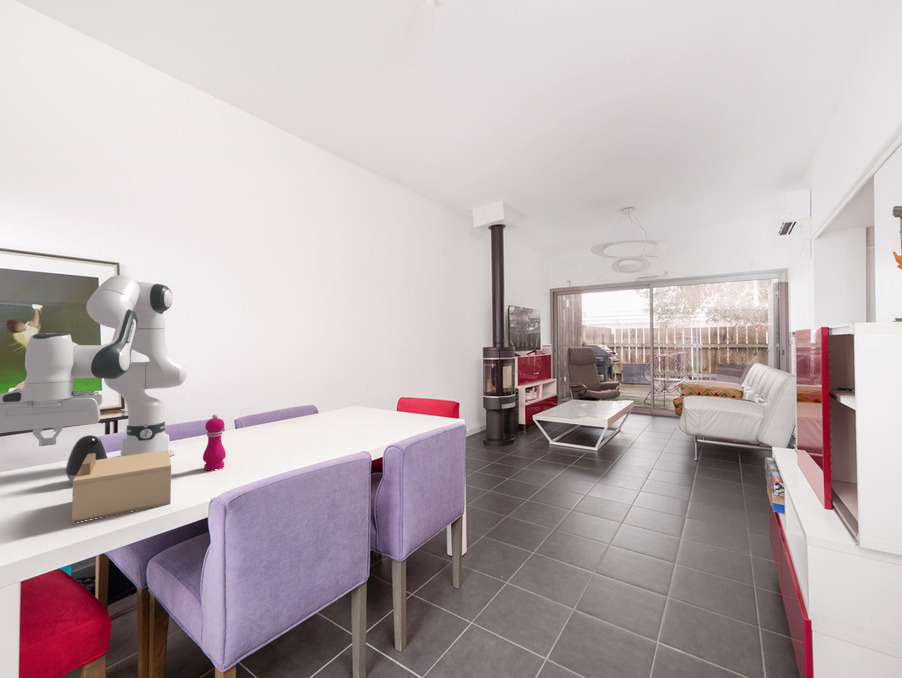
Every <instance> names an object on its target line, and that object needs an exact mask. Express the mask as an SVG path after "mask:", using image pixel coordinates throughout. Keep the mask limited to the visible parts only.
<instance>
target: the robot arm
mask: <svg viewBox="0 0 902 678" xmlns="http://www.w3.org/2000/svg"><path fill="white" fill-rule="evenodd" d="M172 293H173V292H172V291H171V289H170V288H169V287H168V285H167V286H166V285H164V284H162V283H161V284H160V283H150V282H144V281H136V280H135V279H133V278H131V277H129V276H126V275H120V274H119V275H113V276H110V277H109V278H108V279H107V278H106V280H104V281H103V282H102V284H100V286H98V287H97V288H96V290H94V292H93V293H92V295H91V296H90V297H89V298H88V300H87V302H86V305H85V307H86V312H87V314H88V316H89V317H90V319H92V320H93V321H94V322H96V323H97V324H99V325H101V326H104V327H107V328H110V329H114V333H113V337H112V340H111V342H109V343H105V344H99V345H98V344H93V345H91V344H89V345H87V344H86V345H85V344H84V345H83V344H82V345H81V344H78V343H76V342H74V341H73V340H72V336H71V334H70V333H69V332H68V333H67V332H64V331H63V332H59V331H52V332H40V333H36V334H33V335H31V336H30V337H29V339H28V342H27V344H26V350H25V357H24V358H25V359H24V368H25V371H26V377H25V378H24V379H25V380H24V384H23V385H24V386H23V388H17V389H16V388H15V389H13V390H12V391H8V392H4V393H0V433H1V434H2V433H9V432H10V433H11V432H21V431H31V430H32V435H33V436H34V437H35V438H36V439H37V440H38V446H39V447H44V446H45V447H46V446H54V445H56V444H57V437H58V436H59V435H60V434H61V432H63V428H65V427H76V426H86V425H87V426H88V425H95V424H97V423H99V421H100V420H101V409H100V406H101V405H102V403H103V396H102V393H100V392H98V391H96V390H87V391H75V390H74V379H103V381H104V383H105V385H106V386H107V387H108V388H109V389H111V390H113V391H114V392H116V393H118V394H119V395H120V397H122V399H124V402H125V404H126V408H127V414H128V415H127V416H128V419H127V420H128V421H127V422H128V423H127V424H128V425H126V429H125V430H126V437H125V438H124V439H122V440H121V443H120V456H119V457H122V456H129V455H136V454H143V453H151V452H158V451H165V450H169V456H170V457H173V456H175V455H176V452H175V451H173V450H172V449H170V435H169V434H168V433H166V431H165V430H166V421H164V420H165V418H164V417H165V416H164V415H165V404H164V402H163V401H162V400H160V399H158V398H156V397H153V396H150V395H148V394H147V393H146V392H145V390H152V389H154V390H155V389H168V388H174V387H178V386H182V384H183V383H184V382H185V381H186V379H187V374H188V373H187V369H186V367H185V366H184V365H183V363H181V362H179V361H178V360H176V359H175V358H174V357H173V356H172V355H171V354H170V353H169V351H168V349H167V345H166V336H165V335H166V334H165V333H166V332H165V329H166V327H165V324H166V323H165V314H164V312H167V310H169V309H170V308H171V306H172V304H173V294H172ZM132 350H133V351H134V352H136V353H138V354H141V355H144V356H146V357H147V358H148V359H149V360H148V361H131V360H132V359H131V358H132ZM73 390H74V391H73ZM43 429H45V430H46V429H53V432H54V435H53V436H52V437H44V436H43V435H42V434H41V433H43V432H44V431H43Z"/></svg>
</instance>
